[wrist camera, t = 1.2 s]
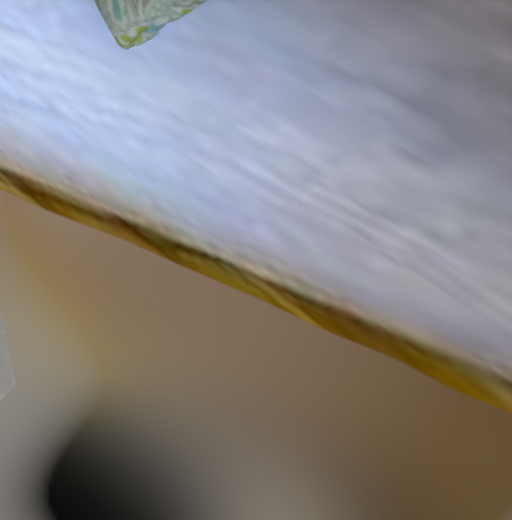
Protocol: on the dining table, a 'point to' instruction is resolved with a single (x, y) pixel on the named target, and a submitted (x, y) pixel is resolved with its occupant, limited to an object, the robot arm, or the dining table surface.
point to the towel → (141, 17)
